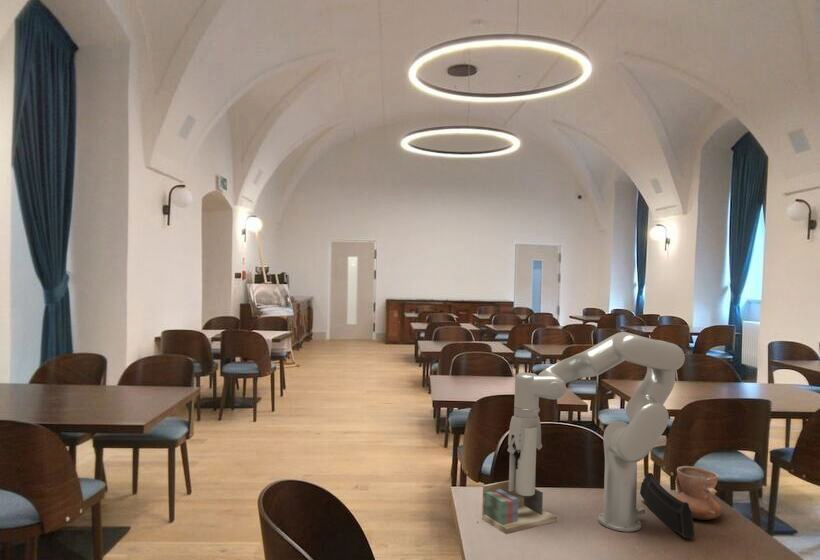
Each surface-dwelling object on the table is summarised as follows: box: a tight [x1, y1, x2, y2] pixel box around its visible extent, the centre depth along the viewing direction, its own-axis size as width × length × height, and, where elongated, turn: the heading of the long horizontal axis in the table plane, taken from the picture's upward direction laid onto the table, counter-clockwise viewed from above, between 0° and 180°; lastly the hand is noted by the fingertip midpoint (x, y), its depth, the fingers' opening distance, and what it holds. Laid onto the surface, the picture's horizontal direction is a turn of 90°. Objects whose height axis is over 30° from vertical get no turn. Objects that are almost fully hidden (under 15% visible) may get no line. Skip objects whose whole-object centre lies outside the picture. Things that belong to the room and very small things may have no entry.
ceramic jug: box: [673, 465, 722, 521], centre depth 184 cm, size 18×14×14 cm
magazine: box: [639, 472, 696, 539], centre depth 179 cm, size 17×3×30 cm
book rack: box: [481, 479, 557, 535], centre depth 176 cm, size 12×20×10 cm, turn 119°
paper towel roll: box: [508, 427, 537, 496], centre depth 177 cm, size 7×6×21 cm
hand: (524, 469), depth 177 cm, fingers closed on paper towel roll, 3 cm apart
